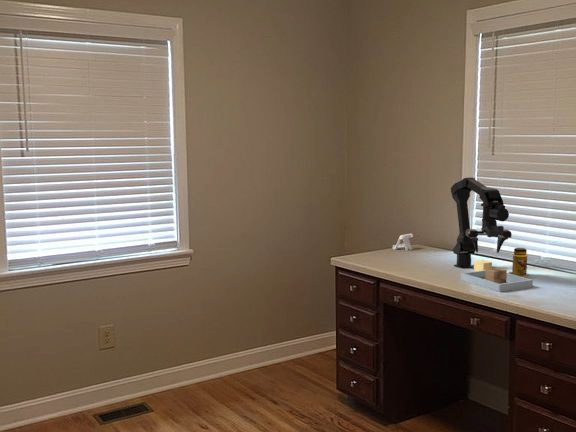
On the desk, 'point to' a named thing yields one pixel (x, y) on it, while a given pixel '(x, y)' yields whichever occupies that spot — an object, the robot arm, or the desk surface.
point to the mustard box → (482, 265)
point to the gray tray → (514, 283)
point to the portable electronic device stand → (406, 242)
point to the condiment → (519, 262)
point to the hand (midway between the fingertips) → (487, 252)
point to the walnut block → (496, 275)
